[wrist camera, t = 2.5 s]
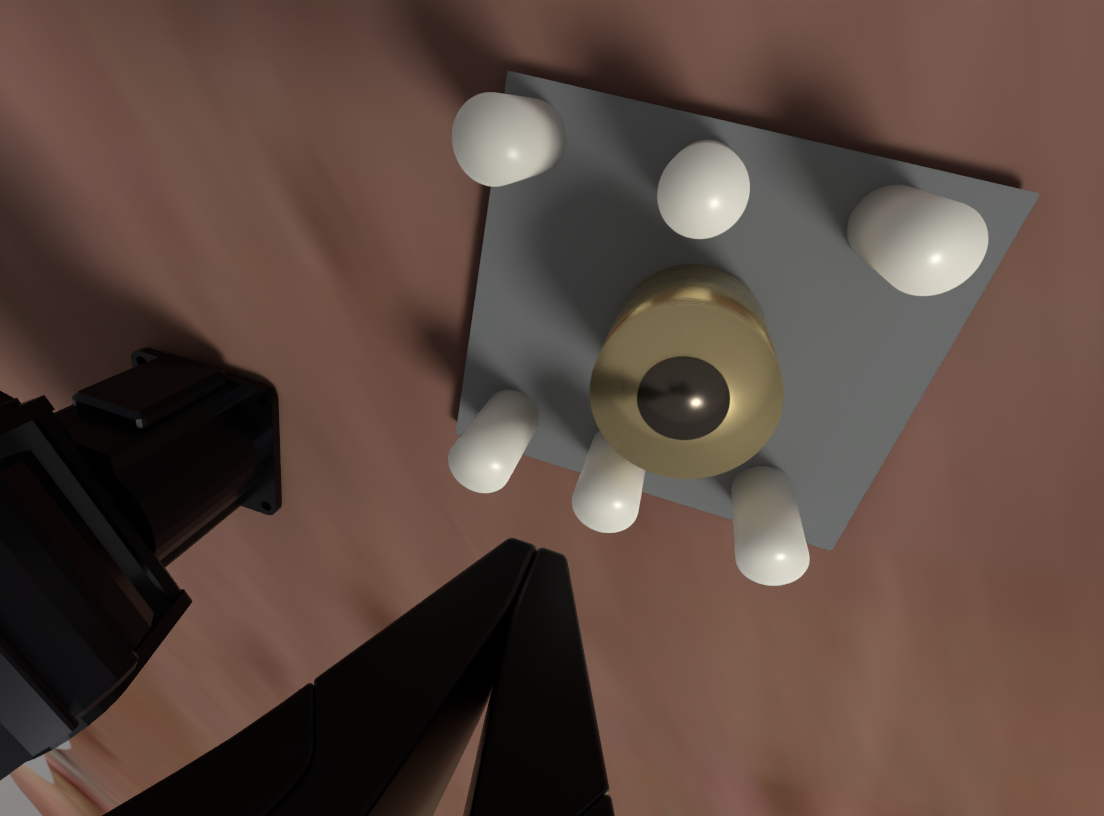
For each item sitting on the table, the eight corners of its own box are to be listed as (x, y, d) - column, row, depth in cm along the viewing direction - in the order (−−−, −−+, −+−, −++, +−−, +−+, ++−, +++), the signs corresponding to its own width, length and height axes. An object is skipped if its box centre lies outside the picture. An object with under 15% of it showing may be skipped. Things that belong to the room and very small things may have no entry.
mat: (829, 543, 20) (831, 550, 20) (459, 428, 22) (455, 433, 22) (1032, 191, 15) (1040, 193, 14) (511, 71, 16) (507, 70, 16)
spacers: (779, 522, 20) (792, 594, 17) (457, 422, 21) (415, 472, 18) (946, 194, 15) (1009, 213, 12) (504, 90, 16) (457, 83, 13)
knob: (735, 421, 19) (742, 503, 15) (599, 382, 19) (571, 450, 15) (791, 286, 17) (817, 339, 13) (636, 246, 17) (614, 284, 13)
